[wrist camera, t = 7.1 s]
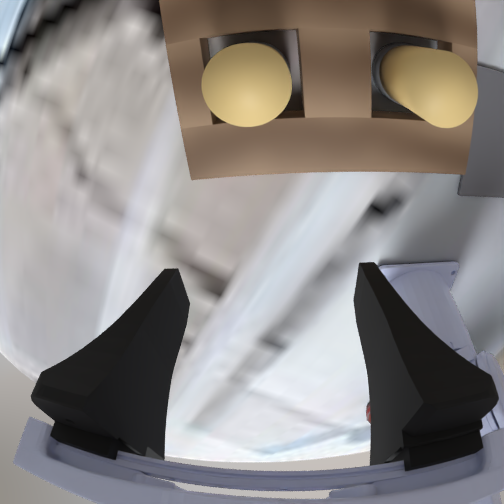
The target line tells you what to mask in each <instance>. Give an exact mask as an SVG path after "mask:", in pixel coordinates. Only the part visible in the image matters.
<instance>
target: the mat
mask: <svg viewBox="0 0 504 504" xmlns="http://www.w3.org/2000/svg"><path fill="white" fill-rule="evenodd" d="M477 86H478V99H477V104H476V107H475V111H474V120H473V129H472V137H471V144H470V150H469V157H468V163H467V168H466V174H465V175H461V179H460V185H459V189H458V195H459V196H483V197H502V198H504V72H500V71H497V70H493V69H490V68H486V67H482V66H478V65H477Z"/></svg>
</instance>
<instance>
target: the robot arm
mask: <svg viewBox="0 0 504 504" xmlns="http://www.w3.org/2000/svg"><path fill="white" fill-rule="evenodd" d="M458 269H459V264H458V263H457V262H437V263H419V264H399V265H382V266H380V267H379V268H378V266H377V265H376V264H375V263H374V262H367V263H359V268H358V275H357V281H356V288H355V294H354V307H355V316H356V323H357V328H358V332H359V336H360V341H361V345H362V350H363V354H364V359H365V363H366V368H367V375H368V384H369V396H370V416H371V450H370V466H364V467H355V468H345V469H333V470H317V471H251V470H236V469H223V468H212V467H204V466H195V465H189V464H182V463H176V462H170V461H164V459H165V457H164V453H165V429H166V416H167V407H168V399H169V392H170V385H171V379H172V374H173V370H174V366H175V363H176V359H177V356H178V352H179V349H180V346H181V342H182V339H183V335H184V332H185V328H186V325H187V319H188V313H189V306H190V302H189V299H188V296H187V293H186V290H185V287H184V284H183V281H182V278H181V275H180V272H179V269H164V270H163V271H162V272H161V273H160V274H159V276H158V277H157V278H156V279H155V280H154V281H153V282H152V283H151V284H150V286H149V287H148V288H147V289H146V290H145V291H144V292H143V293H142V295H141V296H140V297H139V298H138V299H137V300H136V301H135V302H134V303H133V304H132V305H131V306H130V307H129V308H128V309H127V310H126V311H125V312H124V313H123V315H122V316H121V317H120V318H119V319H118V320H117V321H115V322H114V323H113V324H112V325H111V326H110V327H109V328H108V329H107V330H105V331H104V332H103V333H102V334H101V335H99V336H98V337H97V338H96V339H94V340H93V341H92V342H90V343H89V344H88V345H86V346H85V347H84V348H82V349H81V350H79V351H78V352H76V353H75V354H73V355H72V356H70V357H68V358H67V359H65V360H63V361H62V362H60V363H58V364H56V365H54V366H52V367H51V368H49V369H47V370H45V371H43V372H41V374H40V376H39V378H38V381H37V383H36V386H35V388H34V390H33V392H32V394H31V399H32V401H33V403H34V404H35V405H36V406H37V407H39V408H40V409H41V410H42V411H43V412H44V413H46V414H47V415H48V416H49V417H51V418H52V419H53V420H54V421H55V423H54V426H51V425H49V424H47V423H45V422H43V421H40V420H38V419H35V418H32V417H29V419H28V421H27V424H26V426H25V429H24V432H23V434H22V437H21V440H20V443H19V446H18V449H17V452H16V454H15V458H14V461H13V463H14V464H15V465H17V466H19V467H20V468H22V469H24V470H26V471H28V472H30V473H31V474H33V475H35V476H37V477H39V478H41V479H43V480H45V481H47V482H49V483H51V484H53V485H55V486H57V487H59V488H61V489H64V490H66V491H68V492H70V493H73V494H75V495H77V496H80V497H82V498H85V499H87V500H90V501H92V502H95V503H97V504H502V503H501V498H500V493H499V492H501V491H503V490H504V375H503V373H502V370H501V368H500V366H499V364H498V362H497V360H496V358H495V357H494V355H493V354H491V353H486V352H485V351H481V352H480V353H479V354H477V353H476V351H475V348H474V346H473V343H472V340H471V338H470V335H469V333H468V330H467V328H466V325H465V323H464V321H463V318H462V316H461V314H460V311H459V309H458V307H457V305H456V302H455V300H454V298H453V296H452V294H451V291H450V290H451V288H452V285H453V283H454V280H455V277H456V275H457V272H458ZM154 477H155V478H154ZM157 478H160V479H157ZM161 479H165V480H171V481H176V482H182V483H188V484H195V485H202V486H210V487H219V488H228V489H240V490H258V491H314V490H330V489H339V490H333V491H331V492H330V493H329V497H327V498H326V499H282V498H261V497H260V498H259V497H246V496H232V495H222V494H212V493H203V492H194V491H187V490H184V489H182V488H180V487H178V486H176V485H175V484H174V483H172V482H168V481H165V480H161ZM343 488H344V489H343Z"/></svg>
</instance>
